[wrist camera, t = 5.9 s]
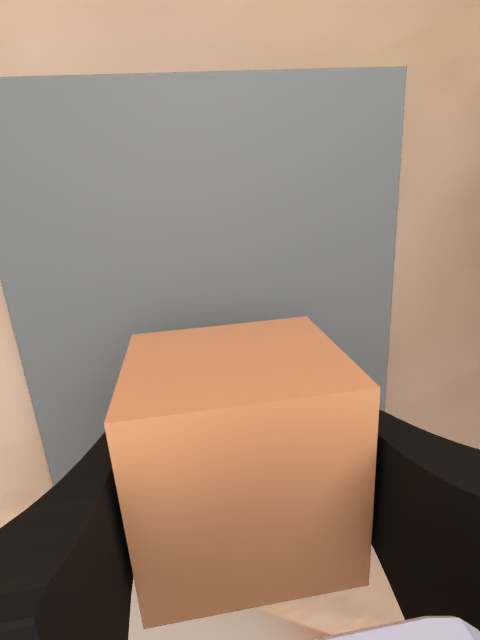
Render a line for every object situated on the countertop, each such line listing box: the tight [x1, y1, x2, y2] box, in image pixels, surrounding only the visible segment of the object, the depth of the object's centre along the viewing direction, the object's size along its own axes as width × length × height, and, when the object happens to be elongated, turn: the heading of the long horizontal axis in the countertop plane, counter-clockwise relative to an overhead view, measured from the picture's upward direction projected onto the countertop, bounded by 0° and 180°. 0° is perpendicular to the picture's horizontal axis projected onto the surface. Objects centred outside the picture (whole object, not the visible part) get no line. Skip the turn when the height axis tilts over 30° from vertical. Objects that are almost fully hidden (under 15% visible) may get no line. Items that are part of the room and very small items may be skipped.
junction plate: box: [0, 66, 407, 486], centre depth 16 cm, size 16×18×5 cm
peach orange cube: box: [104, 316, 380, 629], centre depth 11 cm, size 6×6×5 cm
